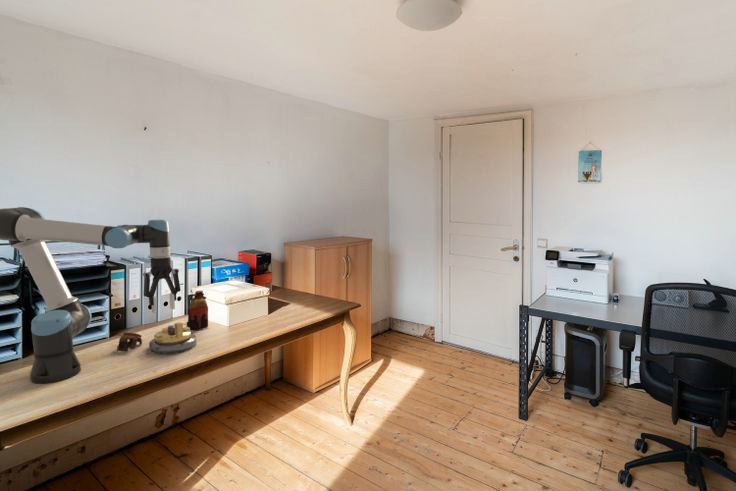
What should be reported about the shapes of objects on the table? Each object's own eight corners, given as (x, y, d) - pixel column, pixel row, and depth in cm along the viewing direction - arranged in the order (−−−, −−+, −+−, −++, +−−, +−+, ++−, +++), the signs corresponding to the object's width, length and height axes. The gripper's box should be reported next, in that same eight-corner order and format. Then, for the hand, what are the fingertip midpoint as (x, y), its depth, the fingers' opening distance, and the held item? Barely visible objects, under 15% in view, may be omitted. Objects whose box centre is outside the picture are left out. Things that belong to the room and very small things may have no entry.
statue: (206, 324, 214) (205, 287, 212) (209, 328, 208) (208, 290, 205) (181, 327, 207) (180, 289, 205) (184, 332, 201) (183, 292, 198)
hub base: (161, 358, 169) (160, 337, 168) (142, 347, 181) (141, 327, 180) (204, 345, 184) (203, 326, 183) (184, 335, 196) (183, 317, 195)
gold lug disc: (148, 339, 181) (147, 321, 180) (181, 331, 193) (180, 313, 191) (163, 347, 172) (162, 328, 171) (197, 338, 183) (196, 319, 182)
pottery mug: (111, 351, 178) (117, 332, 181) (133, 354, 185) (138, 336, 188) (123, 350, 171) (129, 330, 174) (145, 354, 178) (151, 335, 181)
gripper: (138, 260, 159) (142, 317, 162) (188, 255, 174) (190, 307, 177) (131, 258, 164) (134, 313, 167) (179, 253, 179) (182, 304, 182)
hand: (163, 310), depth 172 cm, fingers open, 7 cm apart
